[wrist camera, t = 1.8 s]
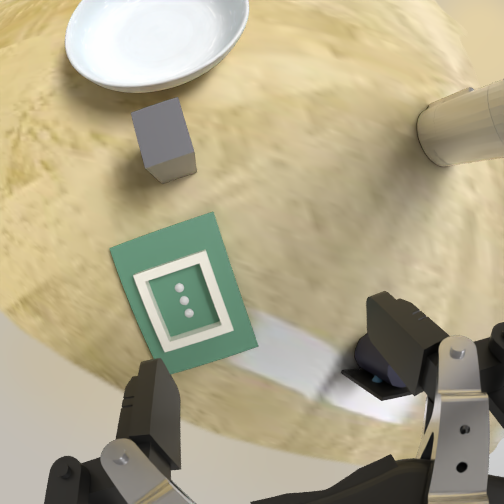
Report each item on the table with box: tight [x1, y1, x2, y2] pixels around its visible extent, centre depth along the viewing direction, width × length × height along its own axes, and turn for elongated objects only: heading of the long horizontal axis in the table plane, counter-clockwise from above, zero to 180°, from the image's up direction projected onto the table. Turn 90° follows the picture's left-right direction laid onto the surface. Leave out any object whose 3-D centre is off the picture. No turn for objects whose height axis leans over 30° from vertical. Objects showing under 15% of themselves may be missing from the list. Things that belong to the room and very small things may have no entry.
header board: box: [110, 212, 258, 374], centre depth 31 cm, size 16×12×3 cm
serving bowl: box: [65, 0, 249, 93], centre depth 26 cm, size 21×21×7 cm
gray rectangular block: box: [131, 97, 197, 184], centre depth 26 cm, size 5×4×10 cm
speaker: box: [341, 333, 412, 401], centre depth 33 cm, size 8×6×10 cm
